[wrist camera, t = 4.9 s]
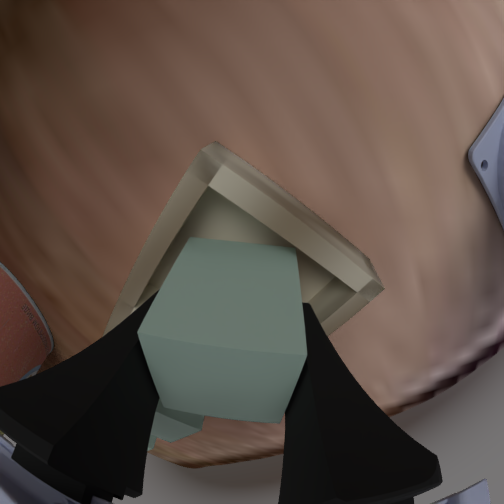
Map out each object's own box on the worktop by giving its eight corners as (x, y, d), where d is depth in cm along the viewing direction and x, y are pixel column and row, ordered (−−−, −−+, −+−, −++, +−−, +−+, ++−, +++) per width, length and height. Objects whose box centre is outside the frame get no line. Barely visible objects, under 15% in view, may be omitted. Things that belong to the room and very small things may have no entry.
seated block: (217, 352, 15) (201, 430, 10) (187, 378, 16) (170, 442, 12) (155, 318, 14) (121, 393, 9) (134, 349, 15) (106, 413, 11)
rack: (369, 258, 11) (384, 288, 9) (166, 417, 21) (161, 436, 19) (215, 141, 9) (200, 149, 7) (90, 377, 19) (81, 395, 17)
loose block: (295, 247, 10) (307, 355, 6) (280, 324, 12) (279, 423, 8) (189, 237, 10) (137, 332, 6) (194, 314, 12) (163, 407, 8)
